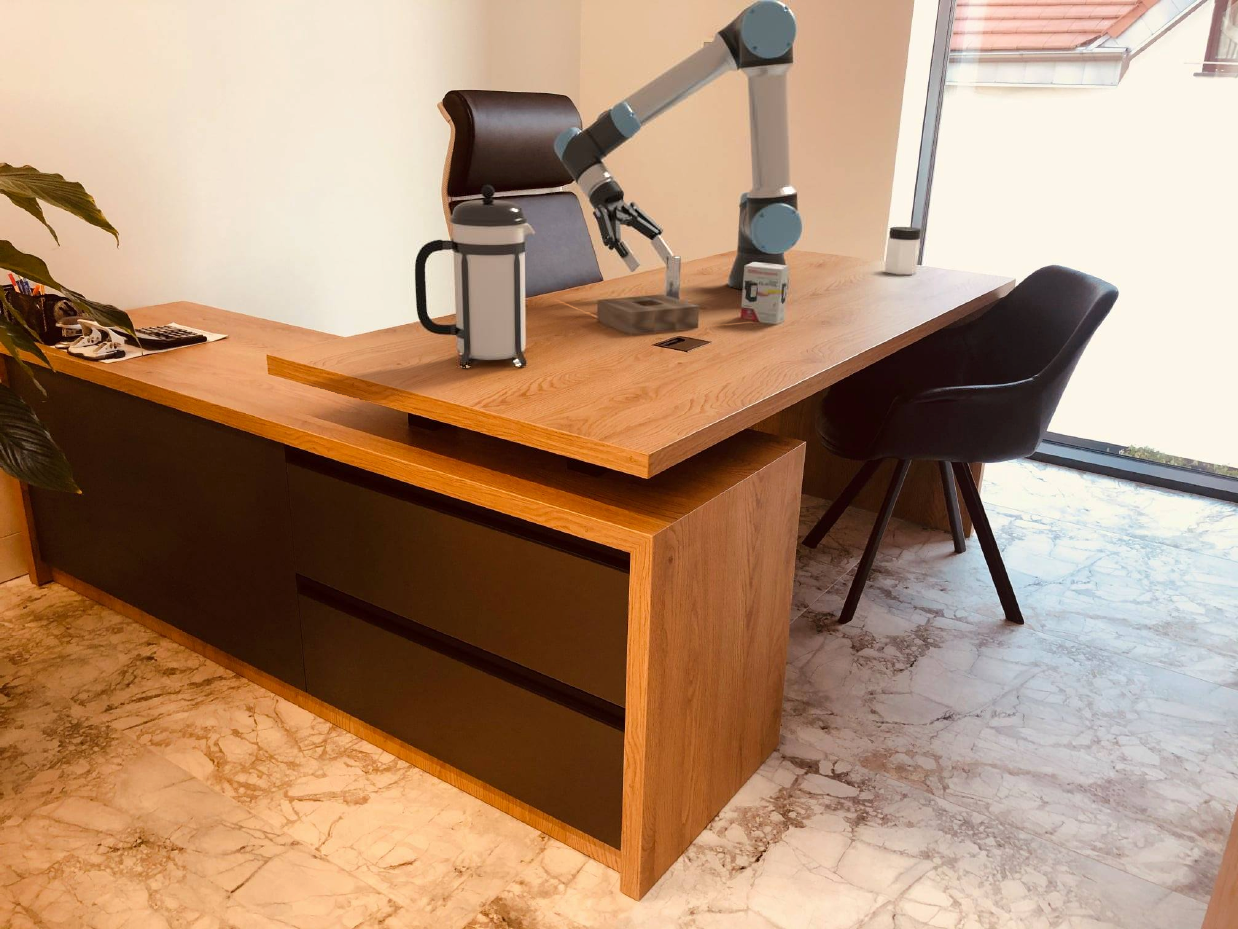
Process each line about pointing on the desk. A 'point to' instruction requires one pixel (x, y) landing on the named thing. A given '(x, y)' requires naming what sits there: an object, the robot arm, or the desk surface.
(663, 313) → the hole block
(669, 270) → the silver rounded cylinder
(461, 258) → the coffee press
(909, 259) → the jar
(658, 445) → the desk surface
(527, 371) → the desk surface
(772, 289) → the ink box
